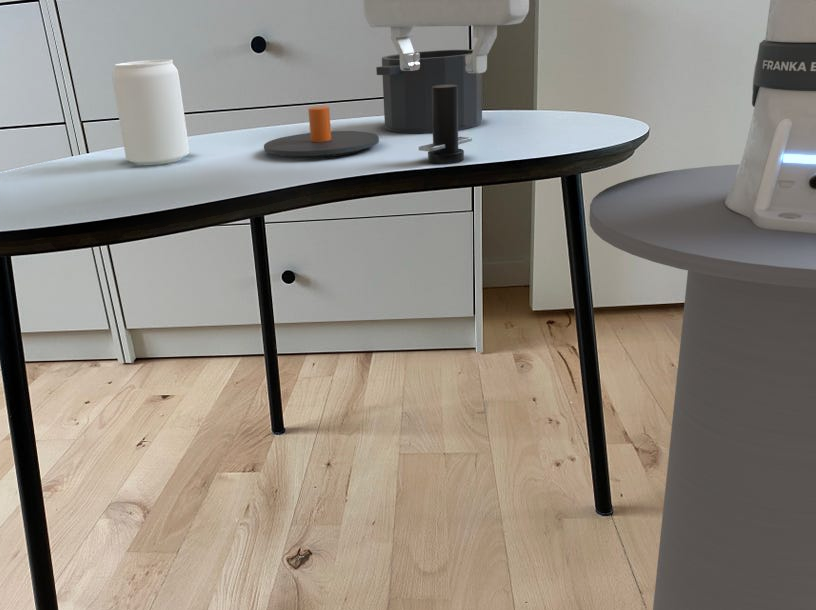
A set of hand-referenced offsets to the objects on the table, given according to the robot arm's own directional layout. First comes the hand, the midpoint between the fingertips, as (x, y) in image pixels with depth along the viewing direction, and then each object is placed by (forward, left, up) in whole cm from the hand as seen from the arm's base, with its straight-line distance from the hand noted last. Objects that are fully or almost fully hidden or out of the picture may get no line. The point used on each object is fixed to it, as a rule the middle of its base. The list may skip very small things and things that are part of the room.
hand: (441, 71), depth 90 cm
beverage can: (+34, +17, -10) cm, 39 cm away
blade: (0, 0, -10) cm, 10 cm away
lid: (+19, +2, -9) cm, 21 cm away
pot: (+19, -19, -10) cm, 28 cm away
